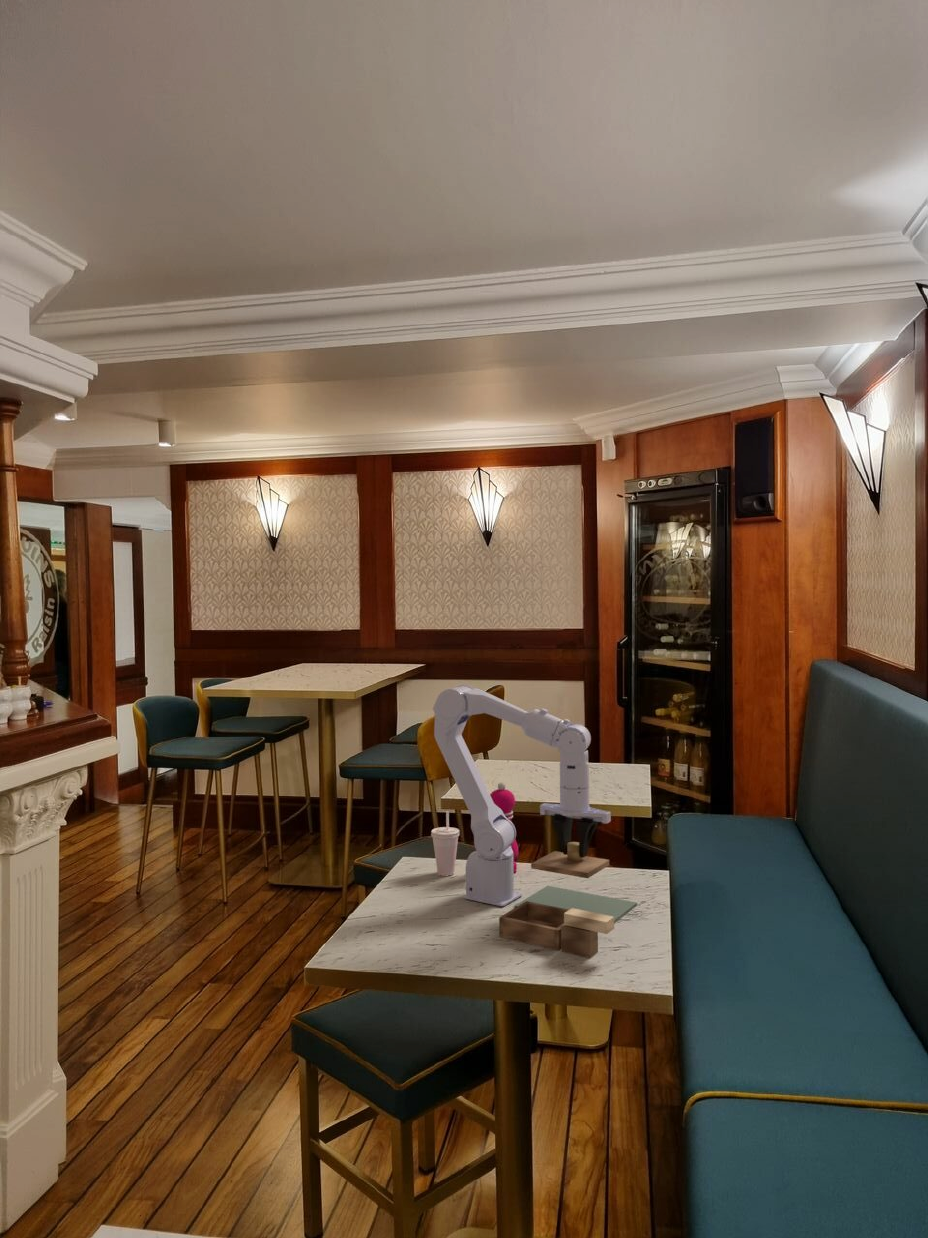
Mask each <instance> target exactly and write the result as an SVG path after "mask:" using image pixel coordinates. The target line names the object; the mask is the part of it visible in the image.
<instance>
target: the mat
mask: <svg viewBox="0 0 928 1238" xmlns="http://www.w3.org/2000/svg"><path fill="white" fill-rule="evenodd" d="M526 901H528V902H533V903H538V904H543V905H548V906H553V907H558V908H563V909H568V910H570V909H571V908H574V909H579V910H584V911H589V912H594V913H598V914H603V915H608V916H613V917H614V924H615V923H616V922H617V921H619V920H620V919H622V918H623V917H624V916H626V915H627V914H628V913H629V912H631V911H632V910H633V909H634V908H636V907H637V906H638V902H635V901H630V900H624V899H619V898H614V897H610V896H605V895H599V894H593V893H588V892H582V891H579V890H578V891H577V890H573V889H567V888H562V887H561V888H560V887H556V886H552V885H546V886H544V887H543V888H541V889H540V890H538V891H536V892H535V893H533V894H531V895H530V896H528V897H526V898H525V899H523V900H521V901H520V902H518V903H516V904H515V905H514V908H516V907H517V906H519V905H521V904H522V903H524V902H526ZM514 908H513V909H514Z"/></svg>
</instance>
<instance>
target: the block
mask: <svg viewBox="0 0 928 1238" xmlns="http://www.w3.org/2000/svg"><path fill="white" fill-rule="evenodd" d="M564 925H567V926H572V927H576V928H581V929H586V930H590V931H595V932H598V933H599V934H605V935H608V934H609V933H610V932H611V931H613V930H614V929H615V923H614V917H613V916H608V915H603V914H598V913H594V912H589V911H584V910H579V909H574V908H571V909H570V910H568V911H567V912H565V913H564Z"/></svg>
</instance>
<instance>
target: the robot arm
mask: <svg viewBox="0 0 928 1238" xmlns="http://www.w3.org/2000/svg"><path fill="white" fill-rule="evenodd" d="M432 710H433V712H434V729H433V736H434V739H435V741H436V743H437V746H438V748H439V750H440V752H441V754H442V756H443V759H444V761H445V764H446V765H447V767H448V770H449V771H450V773H451V776H452V778H453V780H454V782H455V784H456V785H457V788H458V790H459V793H460V794H461V797H462V800H463V801H464V803H465V805H466V807H467V809H468V811H469V814H470V818H471V819H470V829H471V832H472V834H473V844H474V848H475V851H473V852H470V854H469V856H468V857H467V860H466V863H465V895H464V896H463V898H464V899H465V900H468V901H469V900H470V901H473V902H474V901H475V902H478V903H479V902H480V903H485V904H487V905H488V904H489V905H493V906H498V907H504V906H507V905H508V904H510V903H512V902H514V901H515V900H517V899H518V898H521V897H522V896H523V893H522V892H519V891H515V890H514V889H515V883H514V878H515V877H514V875H515V873H514V869H513V850H512V848H511V844H512V843H513V842H514V840H516V837H517V830H516V827H515V824H514V823H513V822H512V820H511V821H510V820H509V819H507V818H506V817H505V815H504V813H503V811H502V810H501V809H500V808H499V807H498V806H496V805H495V804H494V802H493V800H492V798H491V796H490V794H491V793H490V792H489V790H488V788H487V785H486V783H485V781H484V780H483V777H482V775H481V772H480V771H479V769H478V766H477V764H476V762H475V760H474V758H473V756H472V754H471V752H470V750H469V747H468V746H467V744H466V742H465V739H464V738H463V735H462V734H463V732H464V729H465V727H466V724H467V721H469V718H470V717H472V716H473V715H474V716H475V715H481V714H485V715H489V716H493V717H495V718H497V719H501V720H503V721H506V722H508V723H510V724H513V725H516V726H519V727H521V729H522V730H523V733H524V735H525V736H527V737H529V738H531V739H533V740H535V741H538V742H540V743H542V744H544V745H545V744H546V745H547V746H550V747H552V748H556V749H557V752H559V757H560V758H559V759H560V760H559V803H545V802H544V803H542V804H540V805H539V814H540V815H543V816H546V815H547V816H548V815H549V816H554V817H553V818H552V819H551V825H552V827H553V828H554V830H555V832H556V834H557V836H558V840H559V842H560V846H561V850H562V852H563V854H565V855H567V843H569V842H572V829H573V821H574V819H578V820H580V821H578V822H576V829H577V835H578V842H579V855H580V857H585V856H588V853H589V847H590V843H591V840H592V836H594V835H593V834H594V832H595V830H596V828H597V826H598V825H599V823H602V824H606V825H607V824H609V823H610V822H611V821H612V815H611V813H612V812H611V811H607V810H603V809H598V808H594V807H591V806H590V764H589V750H588V748H589V747H590V744H591V743H592V742H591V741H592V736H591V733H590V731H589V729H588V728H587V727H585V726H584V725H583V724H581V723H580V722H572V723H571V720H569V719H568V718H564V719H561V718H559V717H557V716H554V715H552V714H550V713H549V710H548V709H545V708H541V709H538V708H535V709H532V710H530V711H526V710H524V709H523V708H521V707H518V706H517V705H514V704H512V703H510V702H507V701H506V700H504V699H501V698H499V697H497V696H495V695H494V694H491V693H489V692H487V691H485V690H483V689H481V688H476V687H475V688H473V686H471V685H467V684H462V685H458V686H457V687H453V688H447V689H444V690H443V691H441V692H440V693H439V694H438V695H437V699H436V700H435V702H434V705H433V706H432Z"/></svg>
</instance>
